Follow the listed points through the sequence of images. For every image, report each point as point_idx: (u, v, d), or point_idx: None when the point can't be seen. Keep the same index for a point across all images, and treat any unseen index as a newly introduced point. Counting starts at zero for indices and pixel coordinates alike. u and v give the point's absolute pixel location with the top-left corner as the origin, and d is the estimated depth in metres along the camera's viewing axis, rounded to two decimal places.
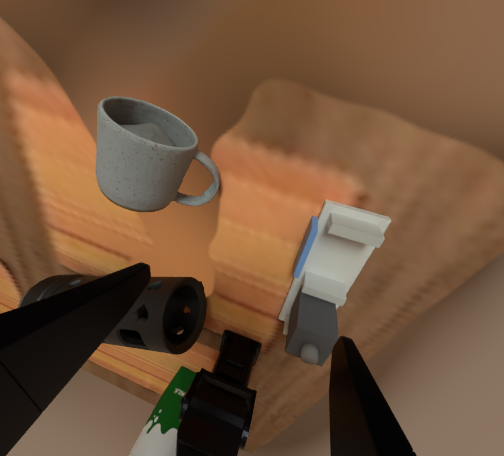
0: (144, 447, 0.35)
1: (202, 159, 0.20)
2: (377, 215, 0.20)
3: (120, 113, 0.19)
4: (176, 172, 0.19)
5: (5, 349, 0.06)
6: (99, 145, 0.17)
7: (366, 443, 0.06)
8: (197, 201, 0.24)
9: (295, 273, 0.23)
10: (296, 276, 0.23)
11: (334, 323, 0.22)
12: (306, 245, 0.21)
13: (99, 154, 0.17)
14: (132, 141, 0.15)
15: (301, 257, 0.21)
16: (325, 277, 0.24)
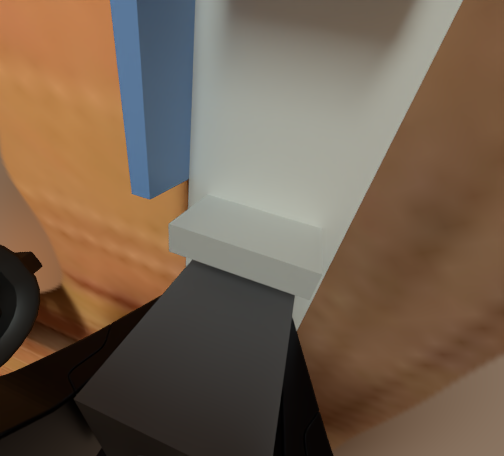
0: None
1: None
2: None
3: None
4: None
5: (83, 386, 0.05)
6: None
7: None
8: None
9: (134, 178, 0.06)
10: (142, 191, 0.06)
11: (273, 369, 0.05)
12: None
13: None
14: None
15: (124, 87, 0.05)
16: (266, 213, 0.08)
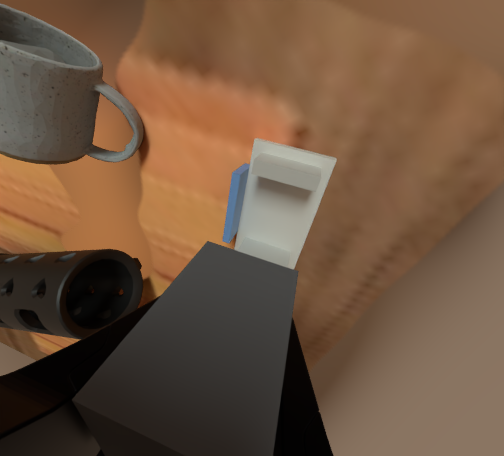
0: None
1: (106, 92, 0.15)
2: (320, 155, 0.15)
3: None
4: (64, 103, 0.14)
5: None
6: None
7: None
8: (117, 156, 0.19)
9: (224, 236, 0.18)
10: (226, 240, 0.18)
11: (273, 370, 0.05)
12: (230, 196, 0.16)
13: None
14: None
15: (227, 213, 0.17)
16: (269, 245, 0.20)
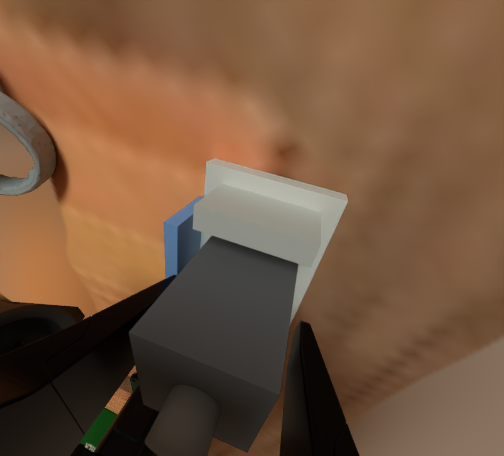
0: None
1: None
2: (319, 190, 0.09)
3: None
4: None
5: (59, 375, 0.05)
6: None
7: (303, 416, 0.06)
8: (17, 187, 0.12)
9: None
10: None
11: (281, 319, 0.07)
12: (167, 257, 0.09)
13: None
14: None
15: None
16: None
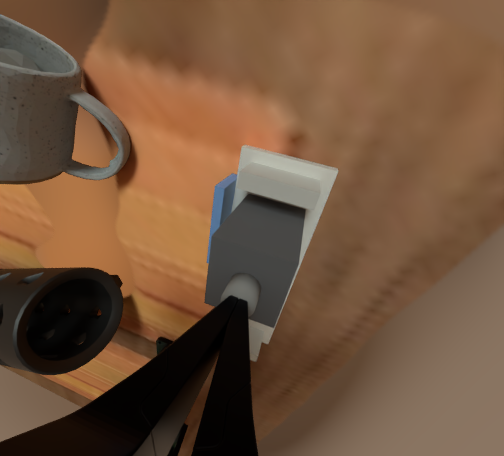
0: None
1: (84, 102, 0.13)
2: (318, 165, 0.13)
3: None
4: (31, 116, 0.12)
5: (153, 420, 0.05)
6: None
7: None
8: (100, 173, 0.17)
9: None
10: None
11: (296, 238, 0.11)
12: (213, 212, 0.14)
13: None
14: None
15: (211, 232, 0.14)
16: None
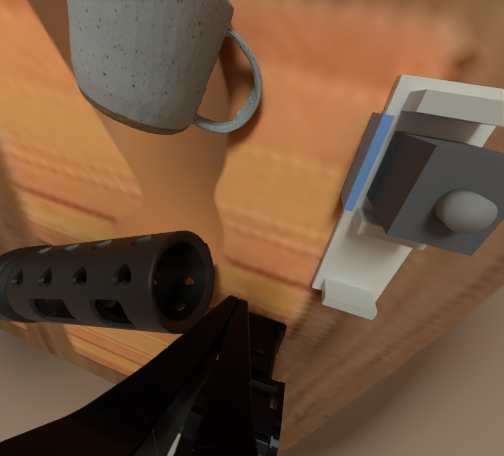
0: None
1: (241, 37, 0.13)
2: None
3: None
4: (201, 49, 0.11)
5: (154, 420, 0.05)
6: None
7: (212, 378, 0.06)
8: (226, 126, 0.16)
9: (348, 203, 0.15)
10: (349, 208, 0.15)
11: None
12: (371, 147, 0.13)
13: (70, 3, 0.10)
14: None
15: (360, 172, 0.14)
16: None
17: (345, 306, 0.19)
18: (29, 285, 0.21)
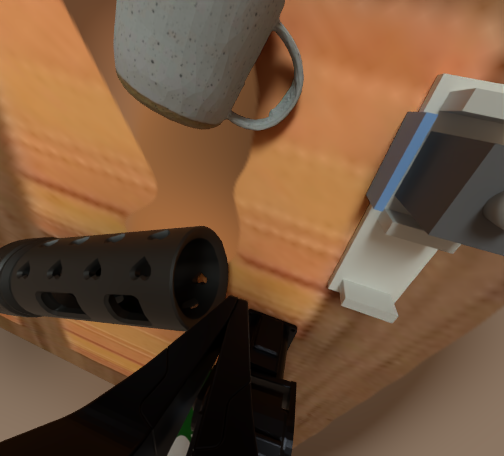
0: None
1: (288, 33, 0.12)
2: None
3: None
4: (252, 41, 0.11)
5: (154, 420, 0.05)
6: None
7: (212, 378, 0.06)
8: (261, 123, 0.16)
9: (379, 202, 0.15)
10: (380, 208, 0.15)
11: None
12: (410, 146, 0.13)
13: None
14: None
15: (396, 171, 0.13)
16: None
17: (365, 308, 0.19)
18: (37, 277, 0.20)
